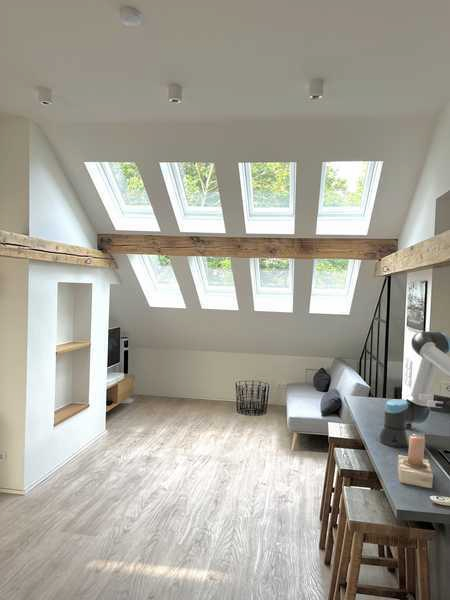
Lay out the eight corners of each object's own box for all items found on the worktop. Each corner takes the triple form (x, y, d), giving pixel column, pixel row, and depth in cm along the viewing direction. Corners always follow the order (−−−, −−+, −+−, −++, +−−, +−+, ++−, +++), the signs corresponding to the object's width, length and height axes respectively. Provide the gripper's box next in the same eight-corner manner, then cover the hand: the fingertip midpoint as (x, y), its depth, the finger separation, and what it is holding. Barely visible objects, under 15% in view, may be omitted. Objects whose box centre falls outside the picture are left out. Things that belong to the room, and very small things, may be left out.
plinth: (397, 466, 221) (398, 454, 221) (427, 471, 217) (428, 458, 217) (399, 482, 202) (400, 468, 202) (431, 488, 198) (433, 474, 198)
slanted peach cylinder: (413, 460, 214) (415, 434, 214) (425, 465, 209) (428, 438, 209) (404, 462, 211) (406, 435, 210) (417, 467, 205) (419, 440, 205)
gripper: (480, 419, 208) (430, 414, 211) (460, 406, 233) (415, 401, 236) (481, 403, 208) (432, 398, 211) (461, 391, 233) (417, 387, 236)
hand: (423, 400), depth 224 cm, fingers open, 13 cm apart
